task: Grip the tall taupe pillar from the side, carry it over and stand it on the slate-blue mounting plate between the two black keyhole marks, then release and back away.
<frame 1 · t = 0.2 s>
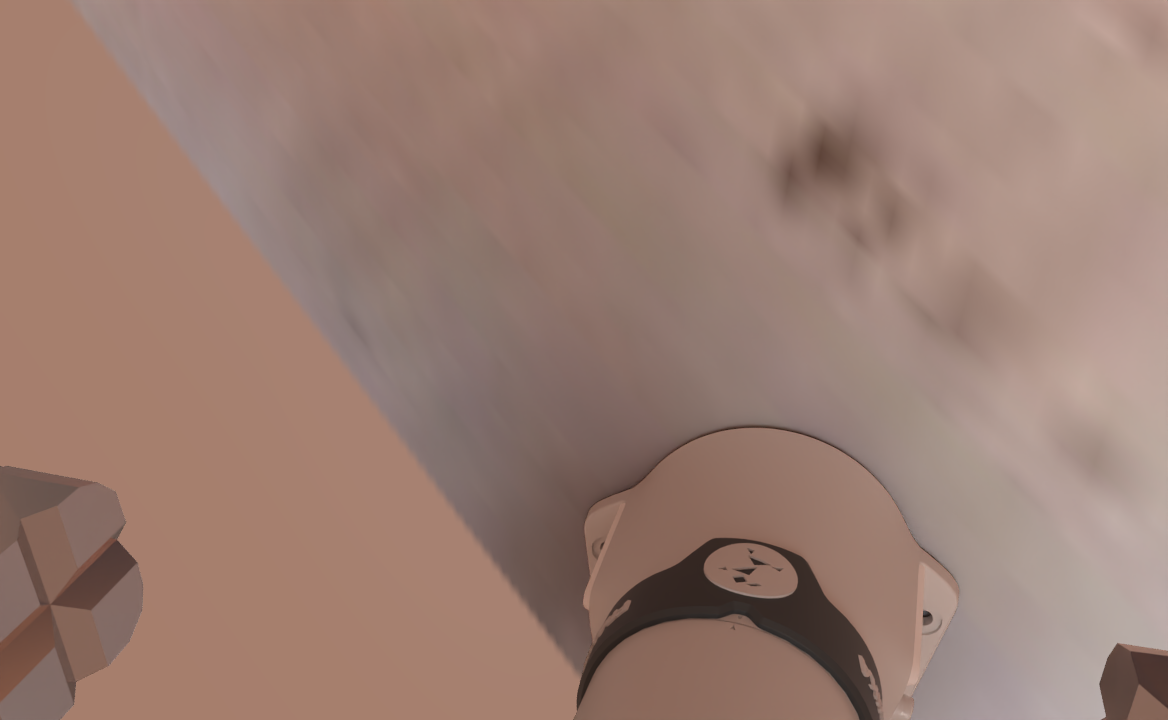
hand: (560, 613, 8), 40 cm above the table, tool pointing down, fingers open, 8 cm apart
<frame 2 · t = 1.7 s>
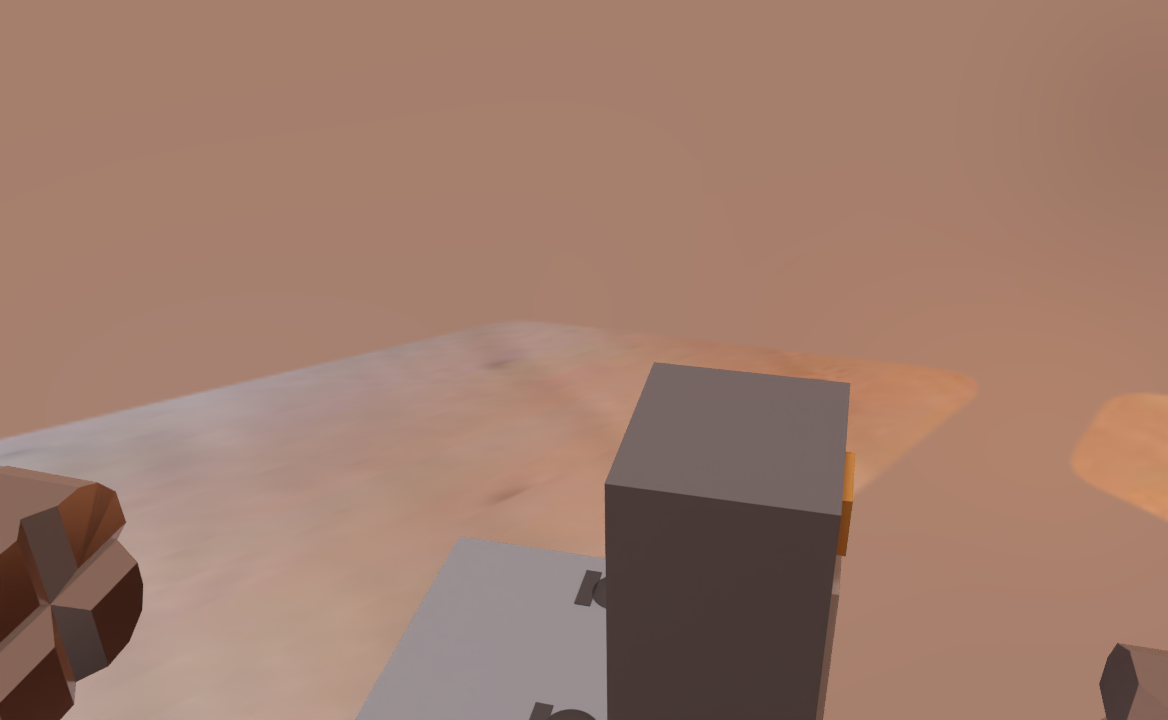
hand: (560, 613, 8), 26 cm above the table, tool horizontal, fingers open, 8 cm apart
mounting plate: (596, 684, 42), on the table
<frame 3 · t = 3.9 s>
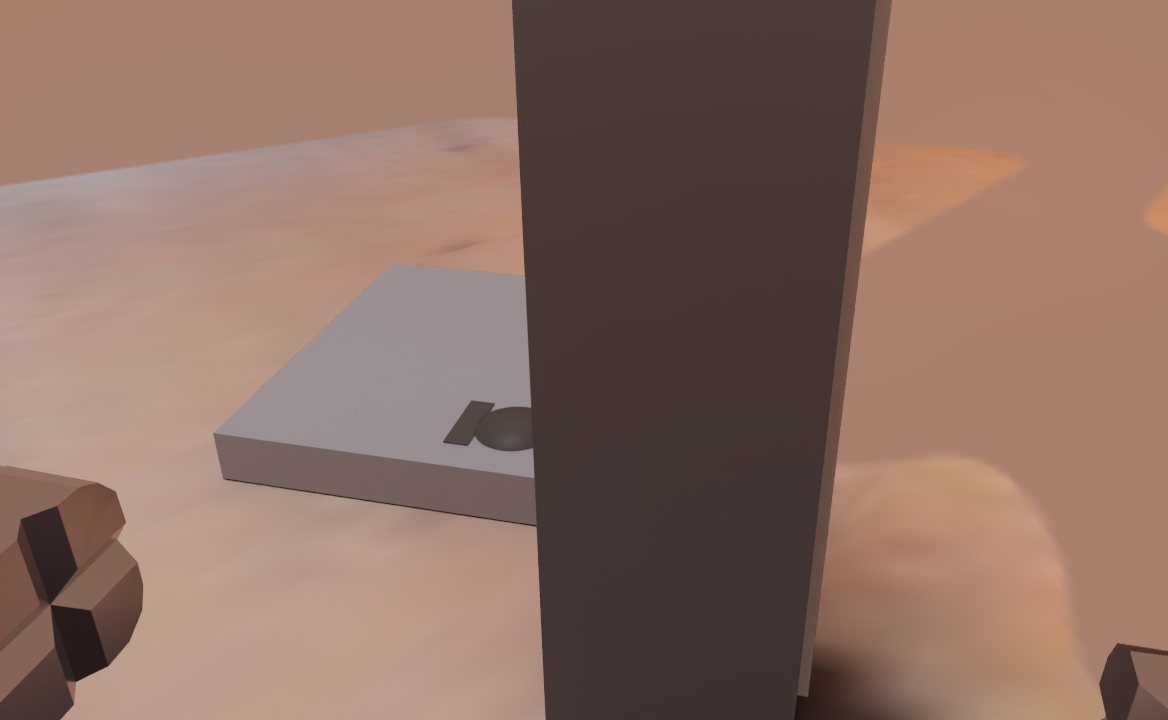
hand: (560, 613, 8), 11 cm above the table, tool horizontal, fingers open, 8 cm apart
mounting plate: (555, 404, 33), on the table
tall taupe pillar: (685, 702, 22), on the table
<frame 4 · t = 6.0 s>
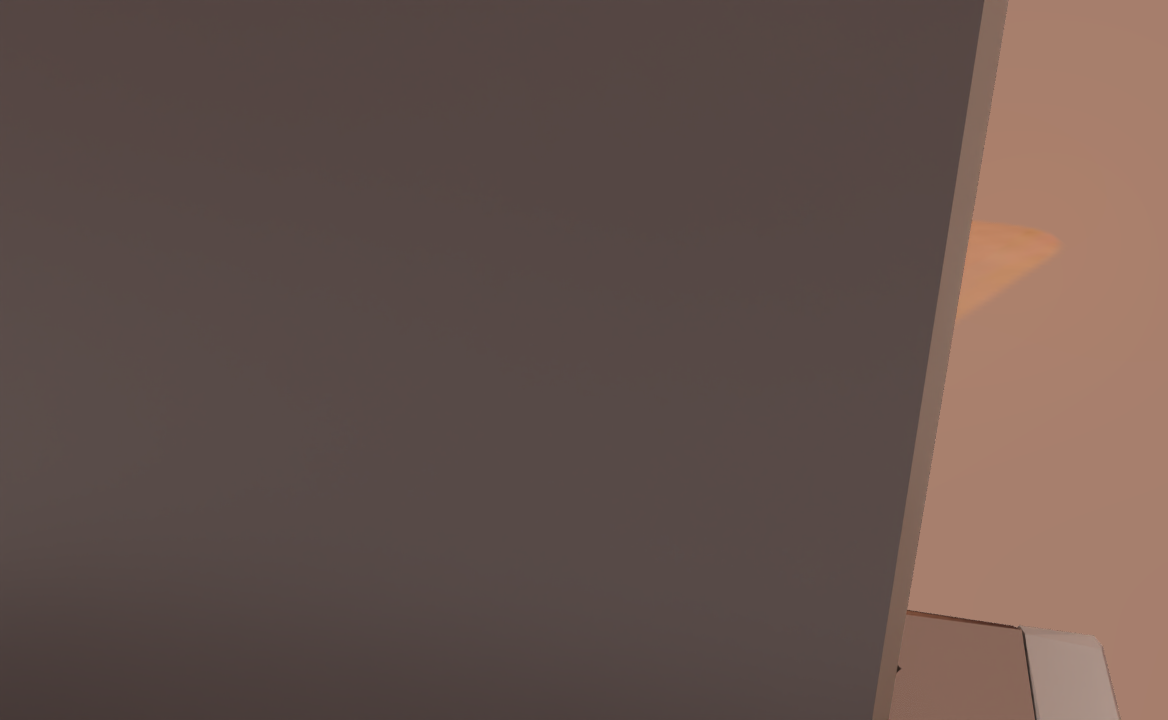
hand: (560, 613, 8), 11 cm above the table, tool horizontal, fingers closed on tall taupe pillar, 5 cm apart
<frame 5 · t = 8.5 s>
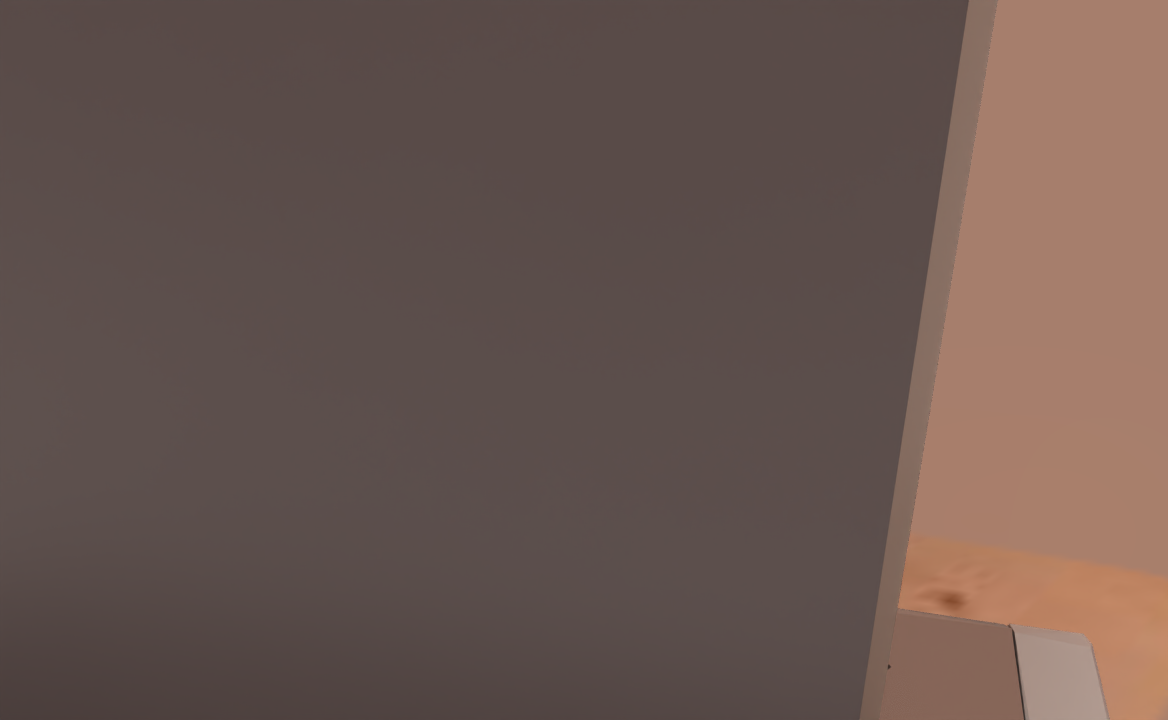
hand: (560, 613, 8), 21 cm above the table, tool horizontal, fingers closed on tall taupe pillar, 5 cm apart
when the fingers open (14 cm above the table, at t = 10.6 s): tall taupe pillar drops 1 cm, resting on mounting plate.
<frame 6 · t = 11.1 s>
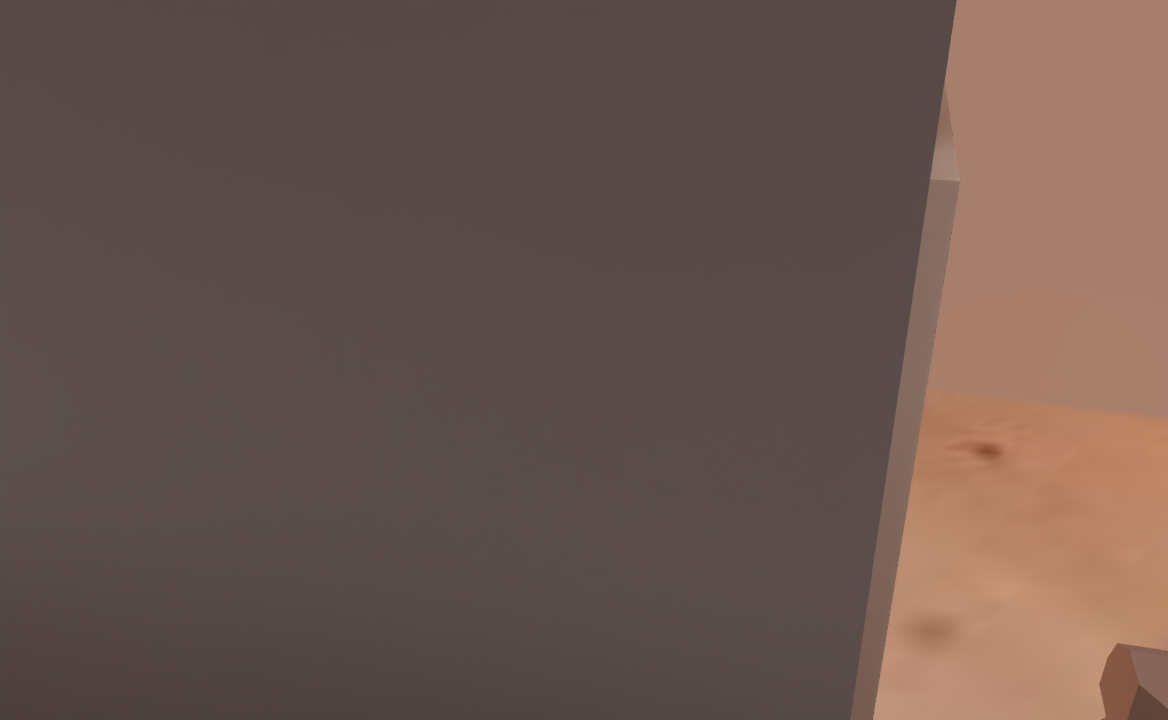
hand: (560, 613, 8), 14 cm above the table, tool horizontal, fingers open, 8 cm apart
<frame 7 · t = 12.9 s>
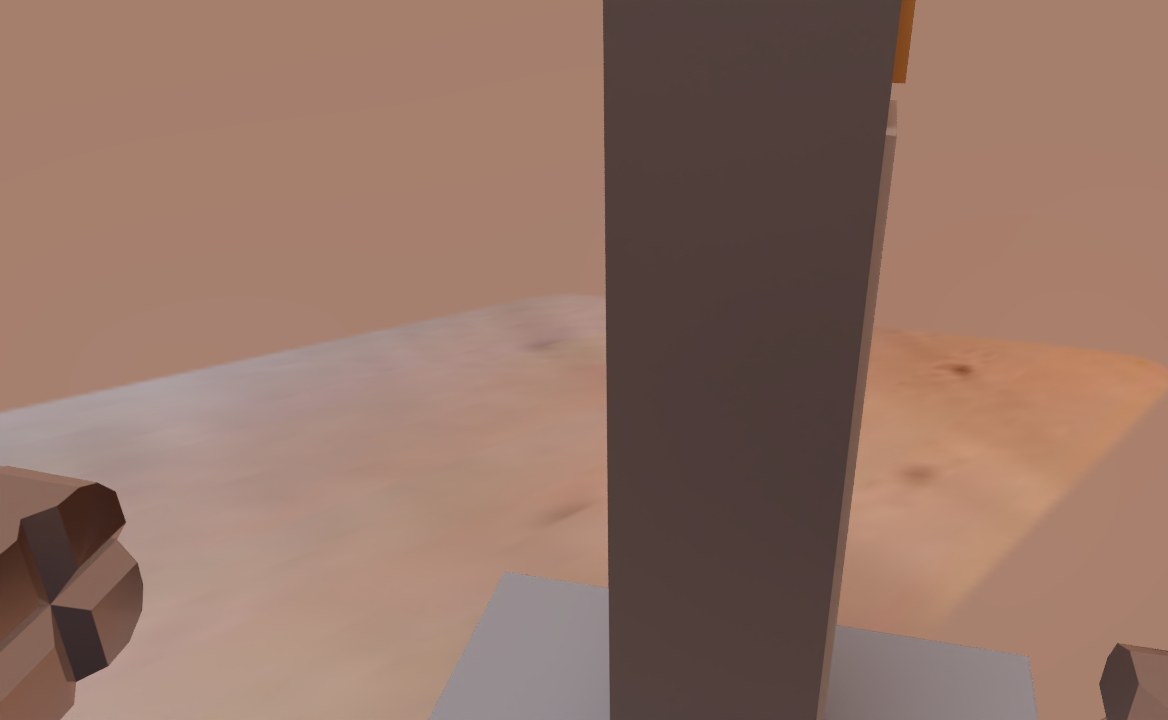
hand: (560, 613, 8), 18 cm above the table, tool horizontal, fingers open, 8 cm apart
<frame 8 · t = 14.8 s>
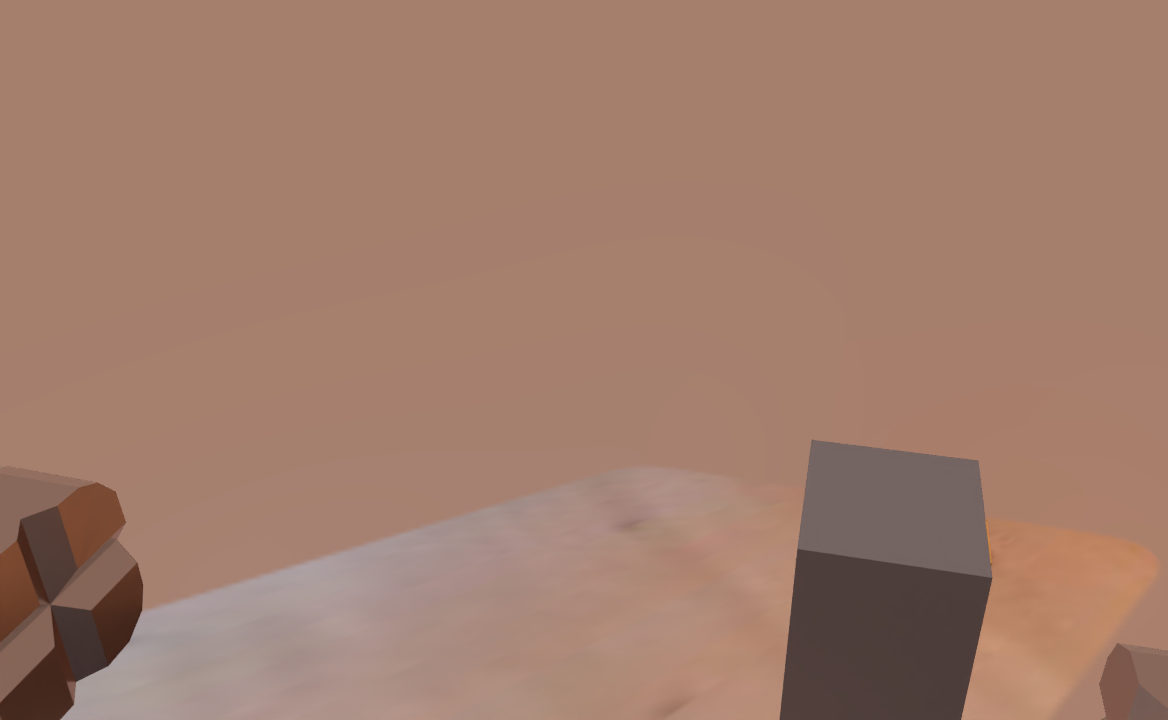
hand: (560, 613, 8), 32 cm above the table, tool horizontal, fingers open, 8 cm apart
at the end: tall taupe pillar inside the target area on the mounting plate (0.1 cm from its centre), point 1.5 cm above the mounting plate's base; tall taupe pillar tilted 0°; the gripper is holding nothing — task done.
